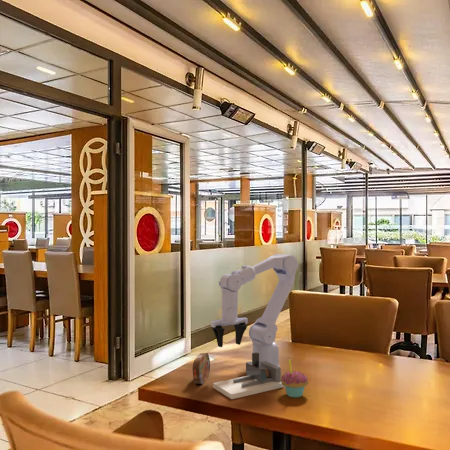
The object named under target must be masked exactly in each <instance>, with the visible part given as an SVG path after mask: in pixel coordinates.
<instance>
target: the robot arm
mask: <svg viewBox="0 0 450 450" xmlns="http://www.w3.org/2000/svg"><path fill="white" fill-rule="evenodd" d="M271 269H272V270H273V271H274V273H275V274H276V276H277V277H278V282H277V284H276V286H275V289H274V291H273V293H272V295H271V297H270V298H269V300H268V303H267V304H266V307H265V310H264V311H263V313H262V316H260V317H258V318H257V319H255V321H254V323H253V324H252V325H251V326H250V327H249V329H248V325H247V324H248V323H249V321H248V318H247V317H238V316H239V315H238V311H239V310H238V309H239V308H238V306H239V304H238V300H239V299H238V296H239V295H238V294H239V292H238V291H239V290H240V289H241V287H242V286H243V285H245V284H247V283H249V282H252V281H254V280H255V278H256V276H257V275H258V274H261V273H264V272H266V271H269V270H271ZM298 269H299V263H298V260H297V258H296V256H295V255H293V254H282V253H281V254H280V253H275V254H272V255H270V256H269V257H267V258H265V259H263V260H262V261H259V262H257V263H256V264H254V265H252V266H251V265H246V264H244V265H241V268H239V269H236V270H232V271H231V273H230V274H229V273H224V274H223V275H222V276H221V278H220V279H219V281H218V285H219V287H220V288H221V318H220V319H216V320H211V321H210V327H211V329H212V331H213V333H214V336H215V340H216V343H217V346H218V347H219V348H223V346H224V344H223V343H224V342H223V341H224V332H225V328H223V327H224V326H234V331H235V344H237V345H241V343H242V339H243V336H244V334H245V331H246V330H247V329H248V337H249V338H250V339H251V343H252V353H254V352H257V353H259V365H260V366H261V363H260V362H263V361H266V362H269V363H271V364H273V365H275V366H278V367H280V368H281V365H280V359H279V357H280V355H279V347H278V344H277V343H276V342H275V340H276V338H277V337H276V335H277V331H278V329H279V328H278V325H277V324H276V321H277V319H278V318H279V315H280V313H281V311H282V309H283V306H284V305H285V303H286V301H287V299H288V296H289V294H290V292H291V290H292V287H293V286H294V284H295V280H296V272H297V270H298Z"/></svg>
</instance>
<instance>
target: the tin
mask: <svg viewBox="0 0 450 450" xmlns="http://www.w3.org/2000/svg"><path fill="white" fill-rule="evenodd" d="M210 371H211V359H210V355H209V353H208V352H204V353H203V352H201V353H199V354H198V355H197V356H196V357H195V359H194V360H193V363H192V378H193V380H192V381H193V383H194V384H196V385H197V384H198V385H203V384H204V383H205V382H206V380H207V379H208V378H209V376H210Z"/></svg>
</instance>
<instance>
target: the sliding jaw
mask: <svg viewBox="0 0 450 450" xmlns="http://www.w3.org/2000/svg"><path fill="white" fill-rule="evenodd" d="M245 374H246V376H251V377H253V378H255V379H257V380H258V381H260V382H262V381H266V368H264V367H262V366H260V365H259V353H257V352H254V353H253V352H252V353H251V361H246V362H245Z"/></svg>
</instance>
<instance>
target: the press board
mask: <svg viewBox="0 0 450 450" xmlns="http://www.w3.org/2000/svg"><path fill="white" fill-rule="evenodd" d="M260 363H261V366H262V367H264V368H266V369H267V370H268V371H269V377H268V378H267V379H266V381H262V382H260V381H258V380H257V379H255V378H253V377H251V376H249V375H245V376H241V377H236V378H235V377H234V378H231V379H226V380H220V381H217V382H213V383H212V387H213V389H214V390H216V391H218V392H220V393H221V394H223V395H224V396H225V397H227V398H229V399H231V400H234V399H235V400H236V399H239V398H243V397H248V396H251V395H257V394H260V393H264V392H268V391H273V390H277V389H281V388H285V386H284V385H282V383H281V378H282V369H281V366H280V367H278V366H275V365H273V364H271V363H269V362H266V361H263V362H260Z"/></svg>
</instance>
